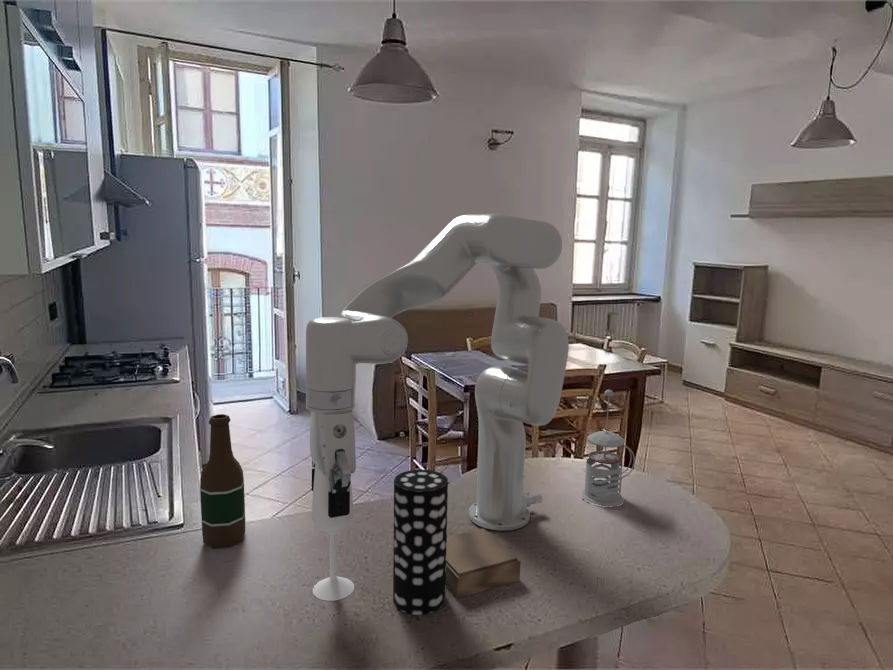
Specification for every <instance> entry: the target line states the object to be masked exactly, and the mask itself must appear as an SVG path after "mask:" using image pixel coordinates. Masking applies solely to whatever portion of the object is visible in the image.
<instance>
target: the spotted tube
mask: <svg viewBox="0 0 893 670" xmlns="http://www.w3.org/2000/svg"><path fill="white" fill-rule="evenodd" d="M448 493H449V479H448V477H447V475H445V474H443V473H441V472H439V471H436V470H432V469H431V470H430V469H409V470H406V471H403V472H401V473H399V474H397V475H395V477H394V480H393V556H392V557H393V565H392V566H393V569H392V570H393V571H392V572H393V573H392V575H393V576H392V577H393V580H392V581H393V582H392V583H393V585H392V586H393V587H392V600H393V604H394V606H395V607H396V609H398V610H399V611H401V612H403V613H406V614H409V615H415V616H424V615H428V614H432V613H436V612H437V611H439V610H440V609H441V608H442V607H443V606H444V604H445V603H446V587H447V586H446V547H447V537H448V500H449V498H448V495H449V494H448Z"/></svg>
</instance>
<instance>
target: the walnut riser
mask: <svg viewBox="0 0 893 670" xmlns="http://www.w3.org/2000/svg"><path fill="white" fill-rule="evenodd" d="M521 562H522V561H521V560H520V558H519V557H517V556H516V555H515V554H514V553H513V552H511V551H510V550H509V549H508V548H507V547H506V546H505V545H503V544H502V543H501V542H500V541H499V540H498V539H496V538H495V537H494V535H492V534H491V533H489V531H488V530H486V528H483V527H482V528H480V529H479V528H478V529H476V530H475V529H474V530H470V531H467V532H466V531H465V532H462V533H458V534H454V535H449V536H447V547H446V587H447V588H449V589H450V590H449V589H448V590H449V591H450V592H451V593H452V595H454V597H455V598H456V599H461V598H465V597H467V596H471V595H474V594H478V593H481V592H484V591H487V590H491V589H494V588H497V587H502V586H505V585H509V584H512V583H515V582H519V581H521Z"/></svg>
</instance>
